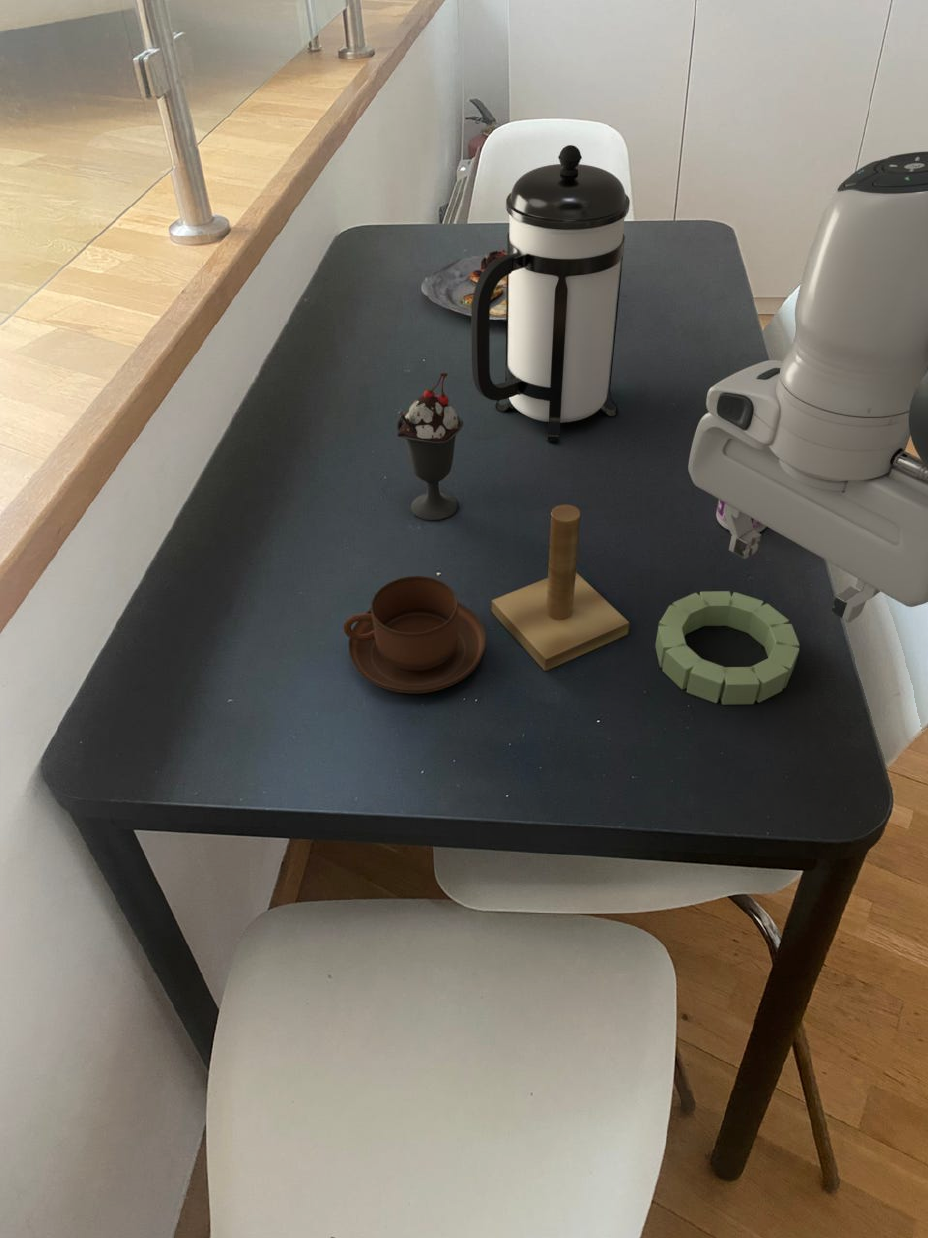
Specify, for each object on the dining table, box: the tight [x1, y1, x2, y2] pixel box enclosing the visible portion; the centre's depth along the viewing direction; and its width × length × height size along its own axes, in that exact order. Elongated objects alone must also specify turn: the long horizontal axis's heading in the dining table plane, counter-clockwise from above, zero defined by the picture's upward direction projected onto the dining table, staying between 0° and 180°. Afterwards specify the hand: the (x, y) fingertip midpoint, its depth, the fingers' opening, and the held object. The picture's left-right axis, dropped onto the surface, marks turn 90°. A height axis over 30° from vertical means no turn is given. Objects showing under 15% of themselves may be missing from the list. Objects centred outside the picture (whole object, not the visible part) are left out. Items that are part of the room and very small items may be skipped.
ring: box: [654, 590, 801, 706], centre depth 80 cm, size 12×12×2 cm
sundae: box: [396, 372, 464, 521], centre depth 93 cm, size 7×7×15 cm
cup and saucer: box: [343, 575, 487, 694], centre depth 80 cm, size 12×12×6 cm
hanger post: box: [491, 504, 630, 672], centre depth 80 cm, size 9×9×12 cm
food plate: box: [421, 248, 509, 322], centre depth 136 cm, size 25×23×4 cm
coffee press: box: [470, 144, 631, 443], centre depth 101 cm, size 17×16×30 cm
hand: (791, 582), depth 70 cm, fingers open, 8 cm apart
